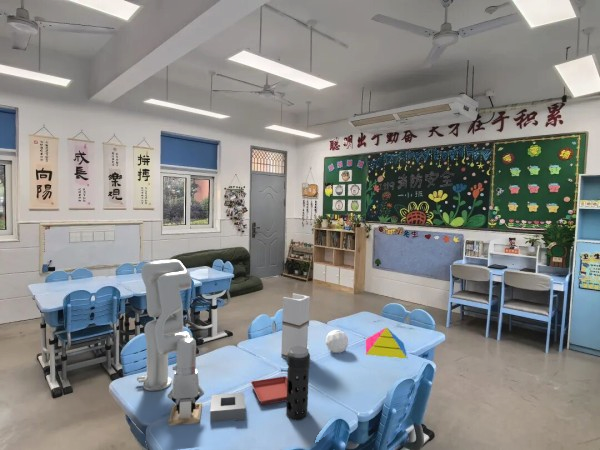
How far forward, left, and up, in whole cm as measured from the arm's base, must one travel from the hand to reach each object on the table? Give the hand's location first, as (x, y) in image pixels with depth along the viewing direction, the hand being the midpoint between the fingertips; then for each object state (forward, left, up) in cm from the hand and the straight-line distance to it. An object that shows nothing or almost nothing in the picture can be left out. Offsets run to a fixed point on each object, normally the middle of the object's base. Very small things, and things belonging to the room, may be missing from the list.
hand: (185, 410), depth 148 cm
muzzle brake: (+46, -5, -3) cm, 46 cm away
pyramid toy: (+113, +53, -3) cm, 124 cm away
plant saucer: (+38, +12, -3) cm, 40 cm away
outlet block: (+17, 0, -2) cm, 17 cm away
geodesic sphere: (+81, +52, -3) cm, 96 cm away
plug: (0, 0, -2) cm, 2 cm away
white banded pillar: (+55, +49, -3) cm, 74 cm away
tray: (0, 0, -2) cm, 2 cm away
